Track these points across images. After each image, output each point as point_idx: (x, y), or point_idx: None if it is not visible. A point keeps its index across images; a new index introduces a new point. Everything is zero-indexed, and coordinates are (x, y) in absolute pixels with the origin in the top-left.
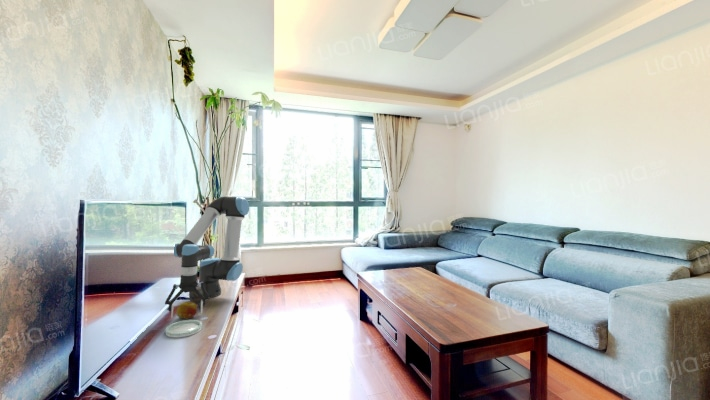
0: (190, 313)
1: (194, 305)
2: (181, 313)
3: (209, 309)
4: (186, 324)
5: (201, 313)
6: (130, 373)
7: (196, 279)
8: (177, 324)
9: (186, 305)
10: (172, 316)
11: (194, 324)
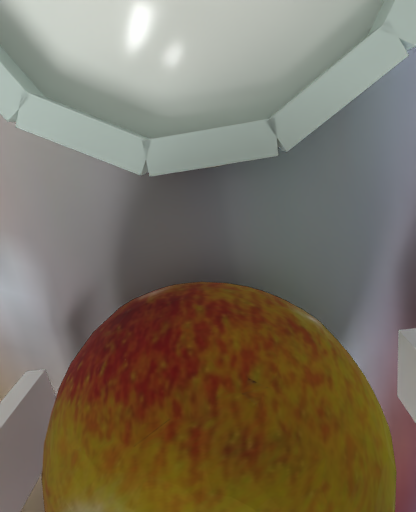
0: (140, 305)
1: (54, 481)
2: (294, 319)
3: (24, 505)
4: (169, 54)
5: (33, 371)
6: None
7: None
8: (308, 85)
9: (219, 479)
10: (414, 341)
11: (39, 14)
